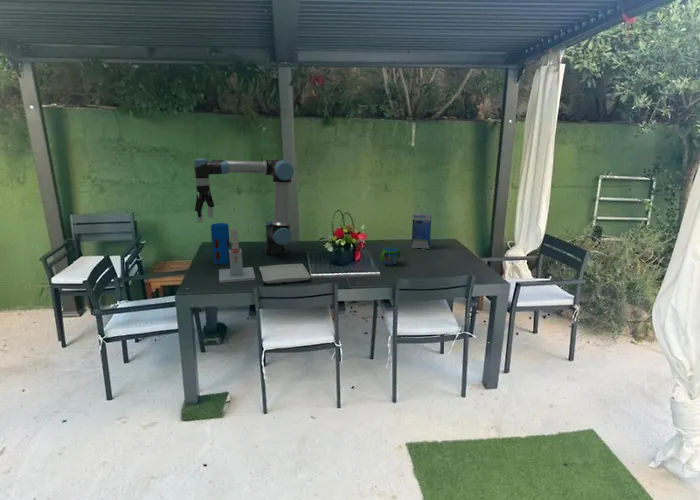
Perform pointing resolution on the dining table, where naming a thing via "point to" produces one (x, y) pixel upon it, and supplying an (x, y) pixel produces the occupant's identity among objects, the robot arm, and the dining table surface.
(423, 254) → the dining table surface
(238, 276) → the stand
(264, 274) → the square plate
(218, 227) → the thermos
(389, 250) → the snack cup
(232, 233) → the column
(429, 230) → the string lights box
